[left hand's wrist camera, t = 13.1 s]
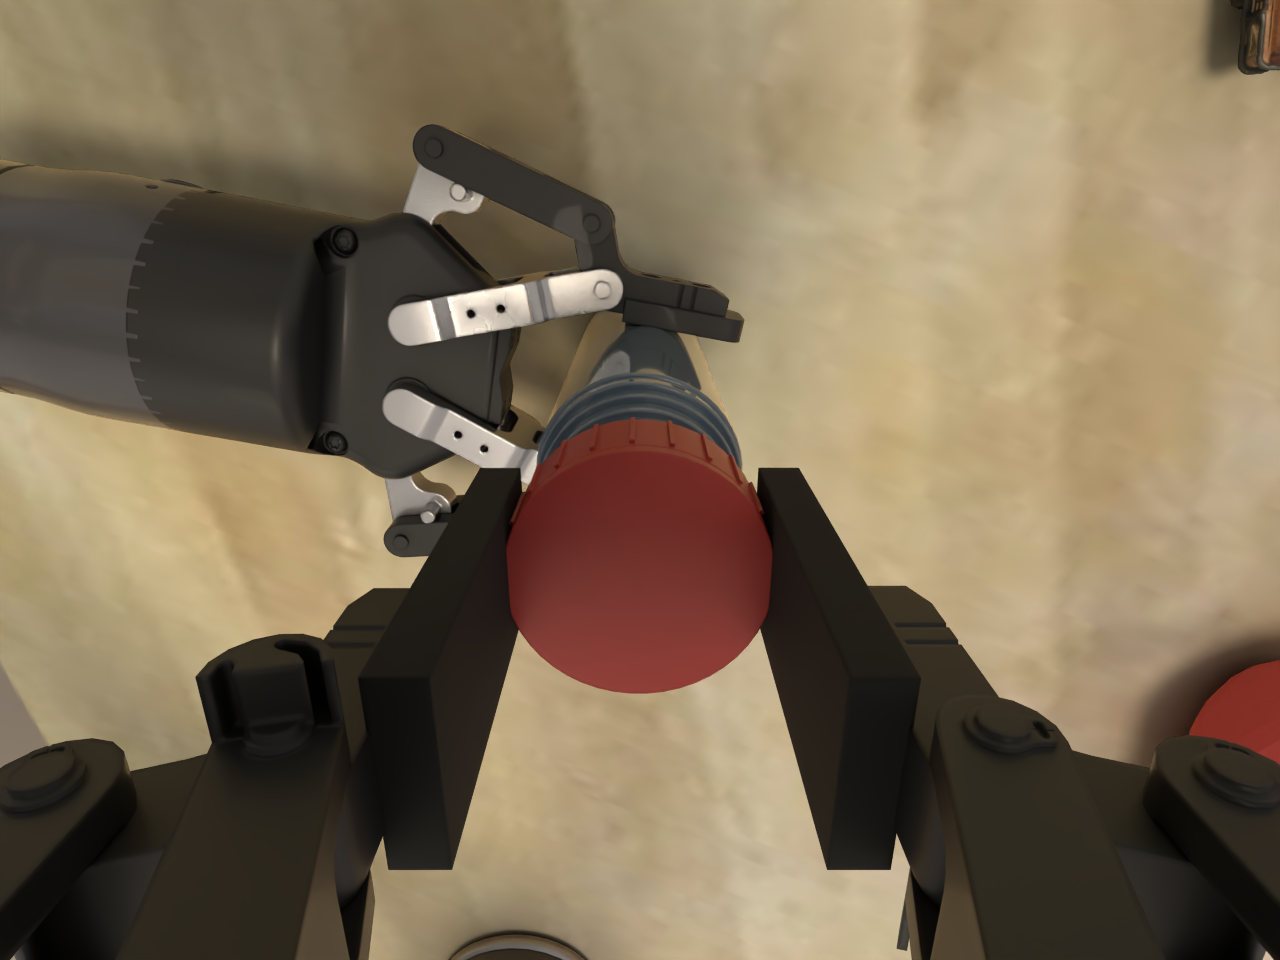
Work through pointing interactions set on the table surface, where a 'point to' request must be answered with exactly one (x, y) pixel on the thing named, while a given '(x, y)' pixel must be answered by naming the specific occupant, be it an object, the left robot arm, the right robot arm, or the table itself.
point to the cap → (639, 558)
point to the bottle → (637, 385)
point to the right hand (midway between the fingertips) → (717, 408)
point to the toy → (1246, 713)
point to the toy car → (1259, 35)
